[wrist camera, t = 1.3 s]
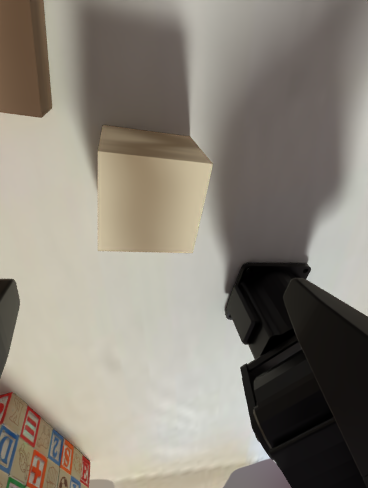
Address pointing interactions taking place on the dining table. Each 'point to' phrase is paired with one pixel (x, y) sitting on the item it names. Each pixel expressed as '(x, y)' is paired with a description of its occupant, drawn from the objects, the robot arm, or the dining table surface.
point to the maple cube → (149, 190)
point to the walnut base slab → (24, 59)
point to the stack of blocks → (36, 451)
